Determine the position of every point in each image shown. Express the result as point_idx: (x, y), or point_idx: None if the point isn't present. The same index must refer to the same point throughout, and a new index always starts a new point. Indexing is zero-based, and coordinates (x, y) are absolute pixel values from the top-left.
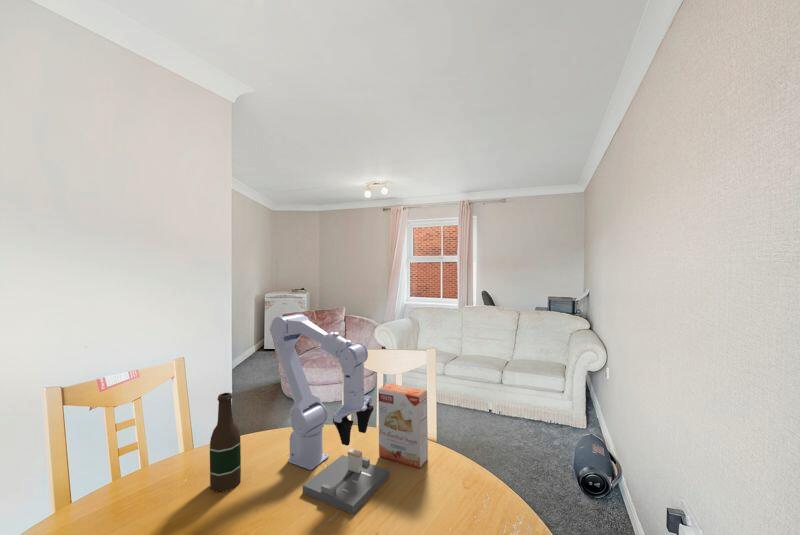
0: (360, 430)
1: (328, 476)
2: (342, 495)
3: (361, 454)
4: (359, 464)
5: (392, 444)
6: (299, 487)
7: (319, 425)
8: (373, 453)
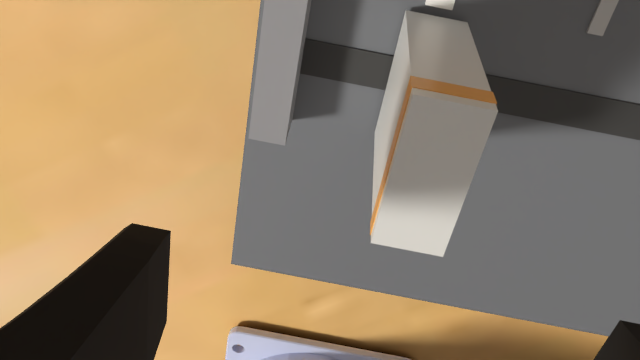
0: (159, 320)
1: (550, 244)
2: None
3: (426, 82)
4: (461, 50)
5: None
6: (597, 344)
7: None
8: (10, 45)
